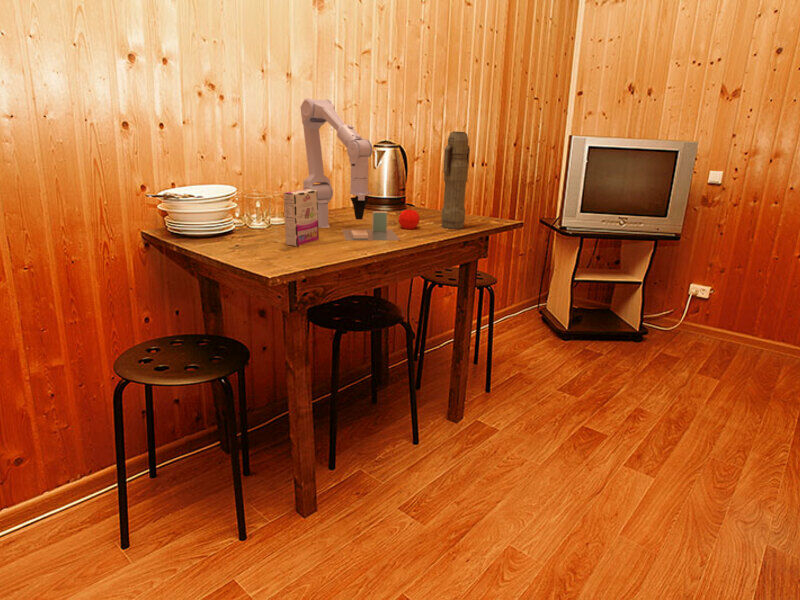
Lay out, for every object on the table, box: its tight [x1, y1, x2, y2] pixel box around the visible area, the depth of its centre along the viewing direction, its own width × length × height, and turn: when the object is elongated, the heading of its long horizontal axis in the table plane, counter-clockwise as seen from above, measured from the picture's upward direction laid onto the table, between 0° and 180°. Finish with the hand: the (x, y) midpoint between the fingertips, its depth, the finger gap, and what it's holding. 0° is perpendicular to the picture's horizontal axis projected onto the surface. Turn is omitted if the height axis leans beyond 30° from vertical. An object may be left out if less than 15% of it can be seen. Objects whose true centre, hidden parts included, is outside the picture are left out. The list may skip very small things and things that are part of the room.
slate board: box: [341, 229, 401, 241], centre depth 185 cm, size 18×18×1 cm
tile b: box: [371, 211, 388, 232], centre depth 190 cm, size 5×2×7 cm, turn 100°
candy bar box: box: [283, 189, 320, 248], centre depth 170 cm, size 11×5×16 cm, turn 151°
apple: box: [398, 209, 421, 230], centre depth 198 cm, size 8×8×7 cm
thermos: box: [440, 131, 471, 230], centre depth 202 cm, size 9×12×35 cm
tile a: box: [350, 229, 368, 239], centre depth 180 cm, size 5×2×7 cm
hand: (358, 219), depth 181 cm, fingers closed
